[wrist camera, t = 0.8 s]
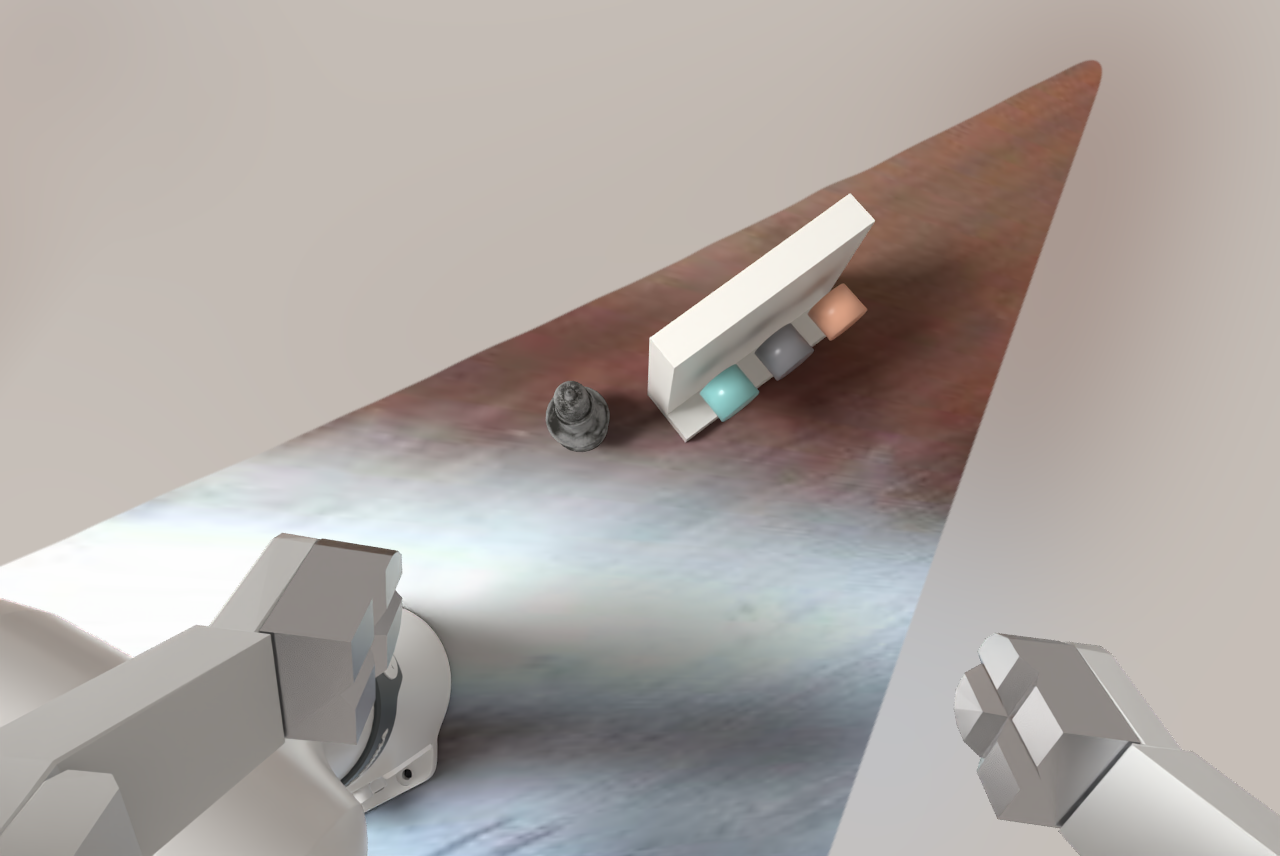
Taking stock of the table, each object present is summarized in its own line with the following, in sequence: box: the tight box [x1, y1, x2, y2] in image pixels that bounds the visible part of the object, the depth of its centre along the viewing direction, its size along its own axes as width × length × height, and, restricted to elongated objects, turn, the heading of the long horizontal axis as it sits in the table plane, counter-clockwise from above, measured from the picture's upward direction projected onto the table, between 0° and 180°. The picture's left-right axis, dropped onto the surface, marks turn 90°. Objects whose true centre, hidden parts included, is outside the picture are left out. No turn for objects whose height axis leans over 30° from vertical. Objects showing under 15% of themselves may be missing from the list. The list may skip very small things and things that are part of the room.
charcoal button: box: [755, 323, 814, 381], centre depth 60 cm, size 4×3×4 cm
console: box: [648, 194, 875, 443], centre depth 61 cm, size 20×6×16 cm, turn 127°
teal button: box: [700, 364, 759, 422], centre depth 59 cm, size 4×3×4 cm
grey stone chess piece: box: [546, 381, 609, 452], centre depth 62 cm, size 6×6×12 cm
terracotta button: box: [808, 283, 867, 341], centre depth 61 cm, size 4×3×4 cm
